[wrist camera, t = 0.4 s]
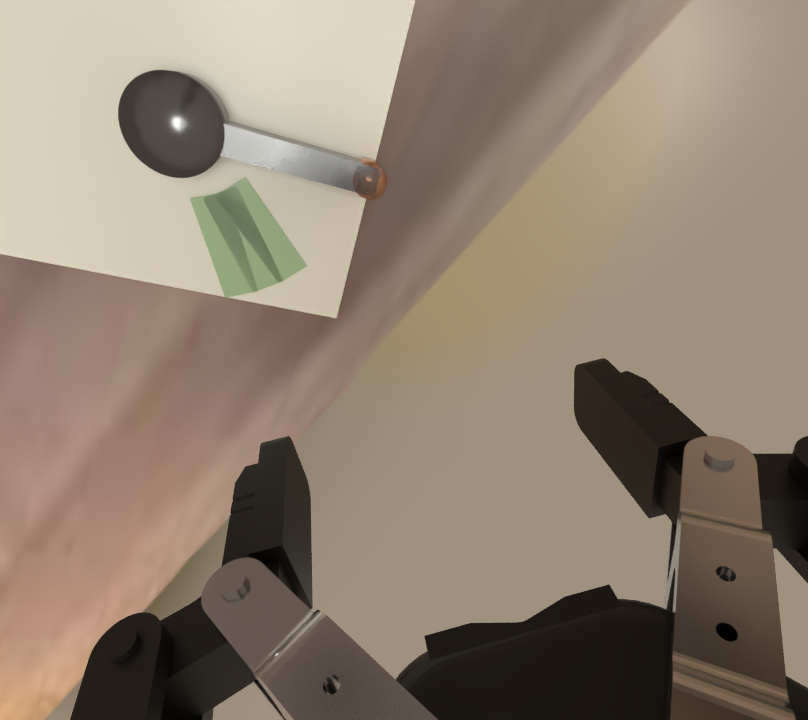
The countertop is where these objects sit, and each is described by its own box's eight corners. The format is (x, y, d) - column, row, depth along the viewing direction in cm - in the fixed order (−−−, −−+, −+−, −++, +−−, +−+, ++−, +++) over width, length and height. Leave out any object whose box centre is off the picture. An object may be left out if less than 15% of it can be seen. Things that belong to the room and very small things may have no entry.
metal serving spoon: (132, 156, 28) (116, 163, 26) (136, 57, 26) (119, 54, 23) (370, 217, 32) (375, 228, 30) (390, 136, 30) (398, 141, 28)
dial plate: (-56, -198, 22) (-81, -218, 20) (412, -8, 28) (419, -13, 27) (-19, 240, 30) (-35, 248, 29) (335, 310, 37) (336, 319, 35)
